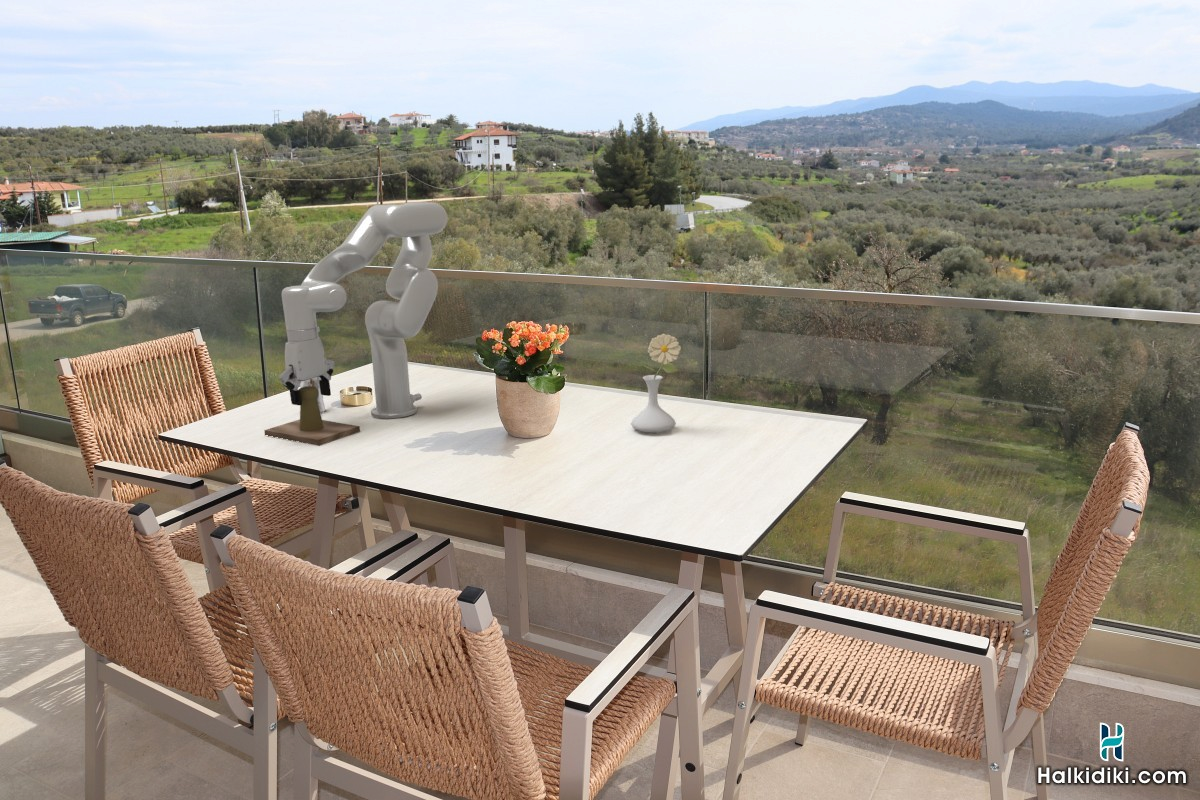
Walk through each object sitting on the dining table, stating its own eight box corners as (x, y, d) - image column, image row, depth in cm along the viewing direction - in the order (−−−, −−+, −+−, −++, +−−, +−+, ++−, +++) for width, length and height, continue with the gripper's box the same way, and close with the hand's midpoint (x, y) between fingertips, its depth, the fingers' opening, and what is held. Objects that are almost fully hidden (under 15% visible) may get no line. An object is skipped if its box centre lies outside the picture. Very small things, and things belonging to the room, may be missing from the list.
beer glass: (296, 414, 258) (290, 362, 254) (312, 408, 264) (307, 357, 260) (316, 416, 255) (311, 363, 251) (332, 410, 261) (327, 358, 258)
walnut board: (307, 422, 248) (306, 417, 248) (360, 431, 238) (359, 426, 238) (265, 435, 237) (264, 430, 236) (318, 445, 227) (318, 439, 226)
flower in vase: (625, 434, 229) (623, 336, 223) (638, 422, 240) (637, 328, 234) (675, 438, 225) (674, 338, 219) (687, 426, 235) (686, 330, 229)
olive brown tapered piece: (316, 431, 234) (312, 390, 231) (295, 431, 235) (290, 389, 232) (328, 425, 239) (323, 384, 237) (307, 424, 241) (302, 384, 238)
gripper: (318, 327, 240) (326, 390, 245) (265, 340, 226) (274, 407, 231) (338, 329, 237) (346, 393, 241) (285, 342, 222) (295, 410, 227)
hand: (311, 399), depth 236 cm, fingers open, 9 cm apart
